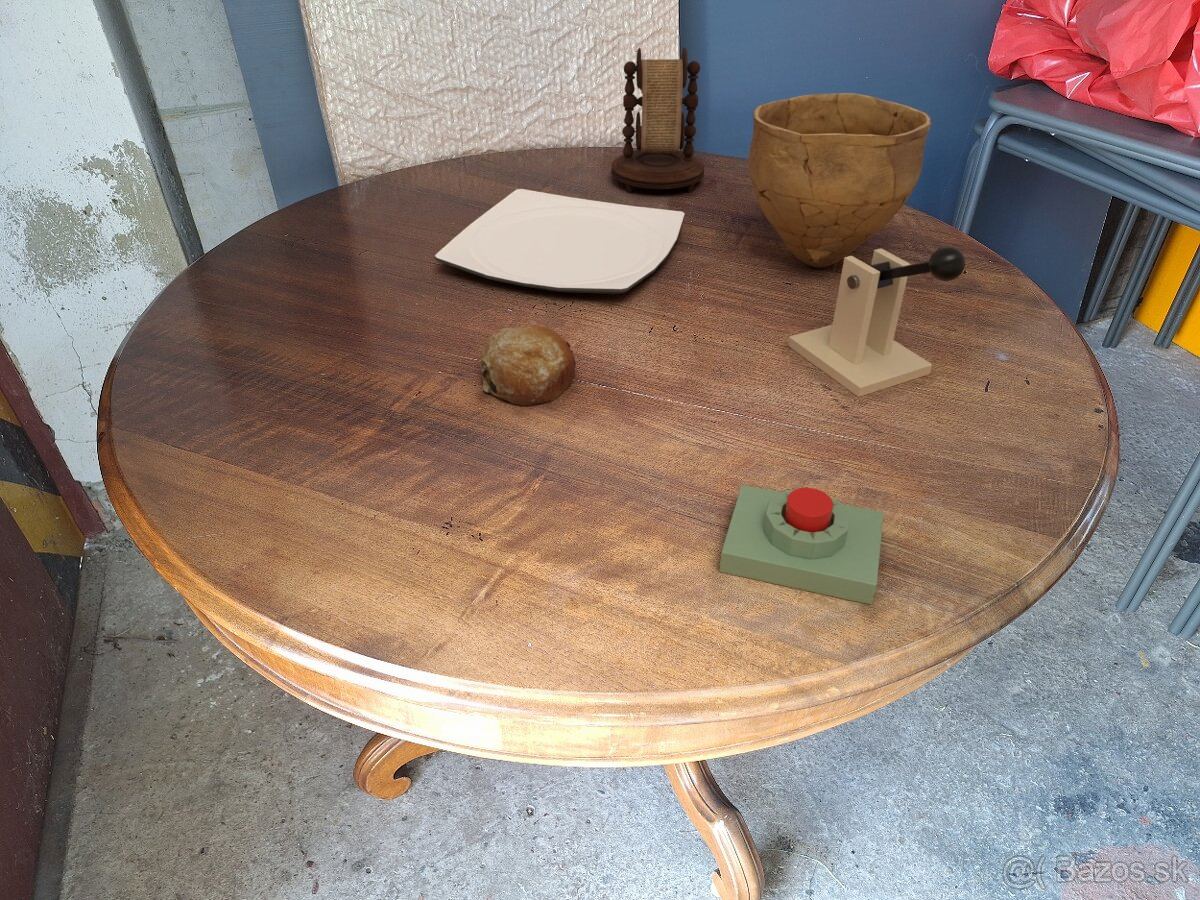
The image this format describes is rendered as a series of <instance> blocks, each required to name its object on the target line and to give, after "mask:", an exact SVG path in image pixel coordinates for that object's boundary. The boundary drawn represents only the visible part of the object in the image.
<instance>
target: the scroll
mask: <svg viewBox="0 0 1200 900" xmlns="http://www.w3.org/2000/svg"><path fill="white" fill-rule="evenodd" d="M636 50H637V51H636V63H635V62H634V61H631V60H629V61H627V62H625V63H624V65H623V72H624V74H625V76H624V79H625V80H626V82H625V85H624V92H625V94H624V95H623V98H622V106H623V108H624V111H625V115H624V117H623V123H624V126H623V128H622V131H621V132H622V135H623V137H624V139H623V140H622V141H623V143H625V144H624V146H623V150H622V154H621V155H620V156H618V157H616V158H615V159H614V160H613V161H612V162H611V165H610V166H611V168H610V169H611V170H610V174H611V175H612V177H613V178H614V180H617V181H618V182H620V183H623V184H624V185H625V188H626V190H627V192H628V193H632V192H633V189H634V187H635V188H641V189H647V190H648V189H651V190H672V189H681V188H684V187H686V189H687V192H688V193H692V191H693V190H694V187H695V184H697V183H699V182H700V181H702V179H703V178H704V176H705V164H704V163H703V162H702V161H701V160H700V159H698V158H697V157H695V156H694V153H695V149H694V145H693V142H694V141H695V138H694V137H695V135H696V133H697V128H696V126H695V123H696V116H695V111H696V110H697V108H698V105H699V95H698V94H697V92H698V83H697V80H698V79H699V75H698V74H699V73H700V71H701V64H700V63H699V62H698V61H697V60H692V61H690V62H689V61H688V59H689V58H688V49H687V48H686V47H683V48H682V51H681V58H674V59H672V58H671V59H668V58H667V59H664V58H662V59H661V58H659V59H658V58H657V59H656V58H655V59H651V58H650V59H645V58H644V59H642V48H641V47H638V48H637V49H636ZM688 62H689V63H688ZM688 74H689V75H688ZM635 75H636V76H635ZM635 79H636V80H635ZM688 79H689V82H688V85H687V81H688ZM634 80H635V81H636V87H635V83H634ZM686 85H687V89H686V90H687V94H686V95H685V96H684V97H683V89H685V88H686ZM635 88H637V89H638V90H640V91H641V94H642V96H639V97H637V96H636V95H635V94H634V93H635V90H636V89H635ZM637 106H639V107H641V112H640V111H637V112H636V116H635V119H634V114H633V112H634V111H635V108H636V107H637ZM683 106H684V107H686V108H685V110H686V111H687V113H686V117H685V113H684V112H683V111H682V109H683ZM634 122H635V126H633V124H634ZM634 136H635V148H636V149H634V146H633V142H634V139H633V137H634Z"/></svg>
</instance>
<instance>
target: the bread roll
mask: <svg viewBox="0 0 1200 900" xmlns="http://www.w3.org/2000/svg"><path fill="white" fill-rule="evenodd" d="M573 353H574V351H573V350H572V349H571V344H570V343H569V342H568V341H567V340H565V339H564V338H563V337H562V336H561V335H560V334H559V333H557V332H556V331H554V330H553V329H551V328H549V327H547V326H539V325H529V326H519V327H504V328H501V329H499V330H498V331H496V332H494V333H493V334H492V335H491V336H490V337H489V338H488V339H487V342H486V344H485V346H484V348H483V349H482V352H481V354H480V362H479V363H480V364H479V365H480V366H479V367H480V376H481V377H480V379H481V380H483V381H482V390H483V391H484V392H486V393H489V394H491V395H493V396H495V397H497V399H501V400H503V401H507V402H509V403H511V404H513V405H517V406H521V407H523V406H524V407H525V406H526V407H527V406H535V405H541V404H545V403H548V402H552V401H554V400H556V399H557V398H558V397H559V396H560V395H562V394H564V393H565V391H566V390H568V388H570V386H571V385H572V383H573V380H574V378H575V376H576V365H577V363H576V359H575V356H574V354H573Z"/></svg>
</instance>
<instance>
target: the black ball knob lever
mask: <svg viewBox="0 0 1200 900" xmlns="http://www.w3.org/2000/svg"><path fill="white" fill-rule="evenodd" d="M928 260H929V261H928ZM928 260H927V261H923V262H918V263H912V264H910V265H906V266H901V267H895V268H890V263H889V262H883V263H878V264H873V265H871V264H870V265H869V264H868V265H869V266H871V267H872V268H874V269H876V270H878V271H880V276H879V281H878V286H877V289H878V288H882V287H885V286H889V285H893V280H892V279H894V278H900V277H906V276H908V277H911V276H918V275H922V274H923V275H924V274H929V273H930V274H931V276H932V277H934V278H935V279H936V280H938V281H942V282H950V281H954V280H955V279H957V278H958V277H960V276H961V274H963V272H964V269H965V267H966V258H965V255H964V253H963V252H962V251H961V250H960V249H959V248H957V247H954V246H949V245H948V246H942V247H939V248H938V249H936V250H935V251H934V252H933V253H932V254H931V256H930V258H929V259H928Z"/></svg>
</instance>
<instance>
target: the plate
mask: <svg viewBox="0 0 1200 900" xmlns="http://www.w3.org/2000/svg"><path fill="white" fill-rule="evenodd" d="M685 217H686V213H685V212H683V211H680V210H671V209H663V208H654V207H645V206H636V205H627V204H620V203H614V202H606V201H598V200H593V199H592V200H591V199H585V198H580V197H579V198H578V197H571V196H566V195H560V194H554V193H547V192H542V191H535V190H530V189H524V188H518V189H517V188H516V189H515V190H514V191H512V192H511V193H510V194H508V195H507V196H506V197H505V198H503V199H502V200H500V201H499V202H498V203H497V204H495V205H494V206H492V207H490V209H488V210H487V211H486V212H484V213H483V214H482V215H480V216H479V217H478V218H477V219H475V220H474V221H473V222H470V224H469V225H467V226H466V227H465V228H464V229H463V230H461V231H460V232H459V233H458V234H457V235H456V236H455V237H454V238H452V239H451V240H450V241H449V242H448V243H447V244H446V245H445V246H444V247H442V248H441V249H440V250H439V251H438V252H436V254H435V255H434V259H435V261H437V262H439V263H441V264H443V265H445V266H449V267H452V268H454V269H457V270H460V271H463V272H466V273H469V274H471V275H474V276H477V277H481V278H484V279H486V280H490V281H495V282H500V283H505V284H509V285H513V286H520V287H524V288H531V289H536V290H537V289H538V290H543V291H551V292H557V293H574V294H575V293H576V294H600V295H601V294H603V295H620V294H624V293H626V292H628V291H630V289H632V288H633V287H635V286H636V285H638V284H639V283H641V282H642V281H643V280H644V279H646V278H647V277H649V276H650V275H652V274H653V273H655V271H656V270H657V269H658V268H659V267H660V266H661V265H662V263H664V261H666V260H667V258H668V257H669V255H670V253H671V252H672V250H673V249H674V247H675V246H676V244H677V242H678V239H679V236H680V232H681V229H682V226H683V224H684V220H685Z"/></svg>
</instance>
